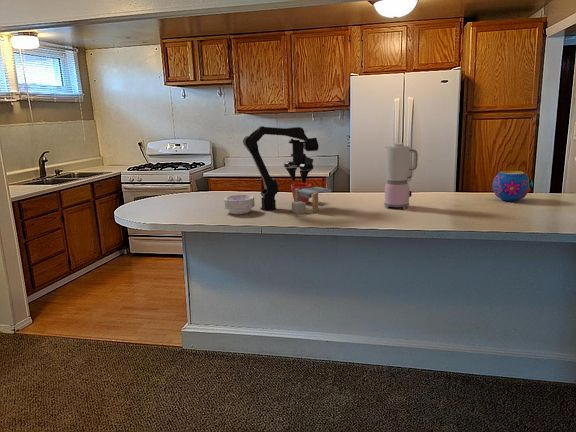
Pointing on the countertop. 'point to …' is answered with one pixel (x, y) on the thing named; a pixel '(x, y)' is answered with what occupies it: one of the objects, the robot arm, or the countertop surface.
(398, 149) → the blender
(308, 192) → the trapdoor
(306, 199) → the flower pot
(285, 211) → the countertop surface
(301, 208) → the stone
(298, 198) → the frame
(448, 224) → the countertop surface
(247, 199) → the paper bowls
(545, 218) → the countertop surface
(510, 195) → the ceramic pot
